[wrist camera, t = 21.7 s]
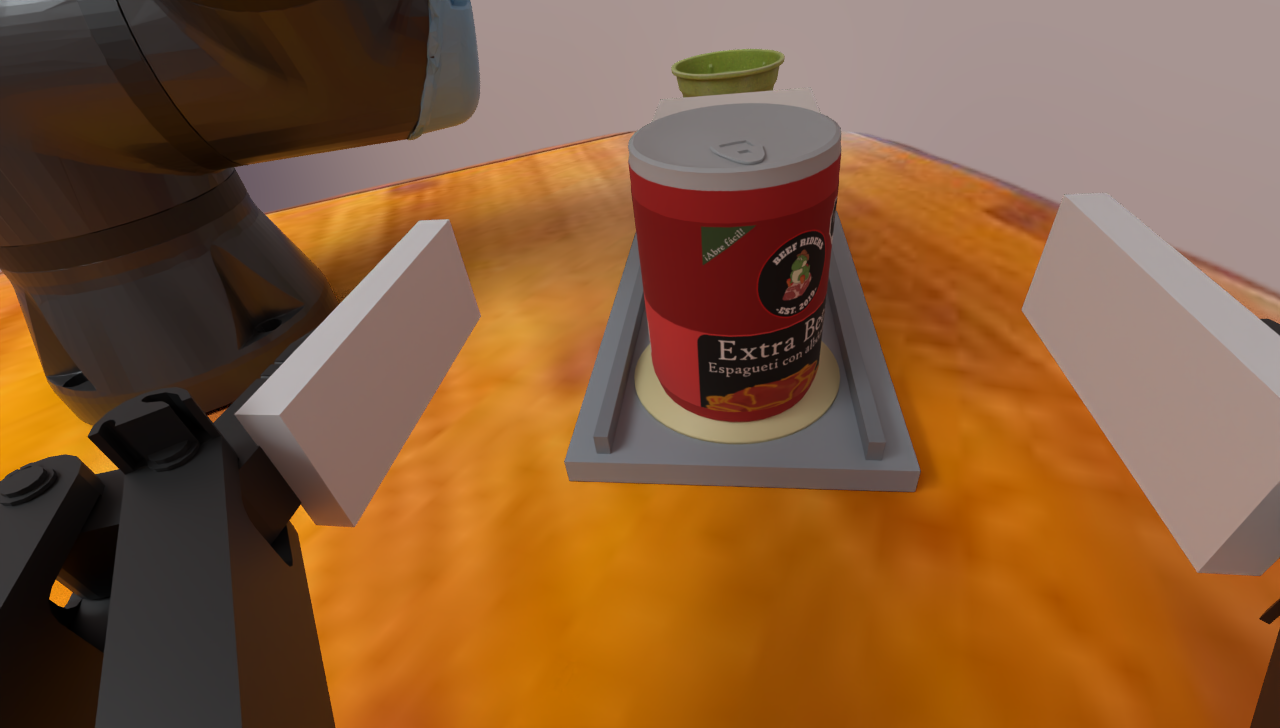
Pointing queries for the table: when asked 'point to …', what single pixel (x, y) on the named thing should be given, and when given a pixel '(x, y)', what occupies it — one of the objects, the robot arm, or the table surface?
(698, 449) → the board
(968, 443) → the table surface
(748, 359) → the canned food
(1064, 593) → the table surface
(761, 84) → the plant pot
